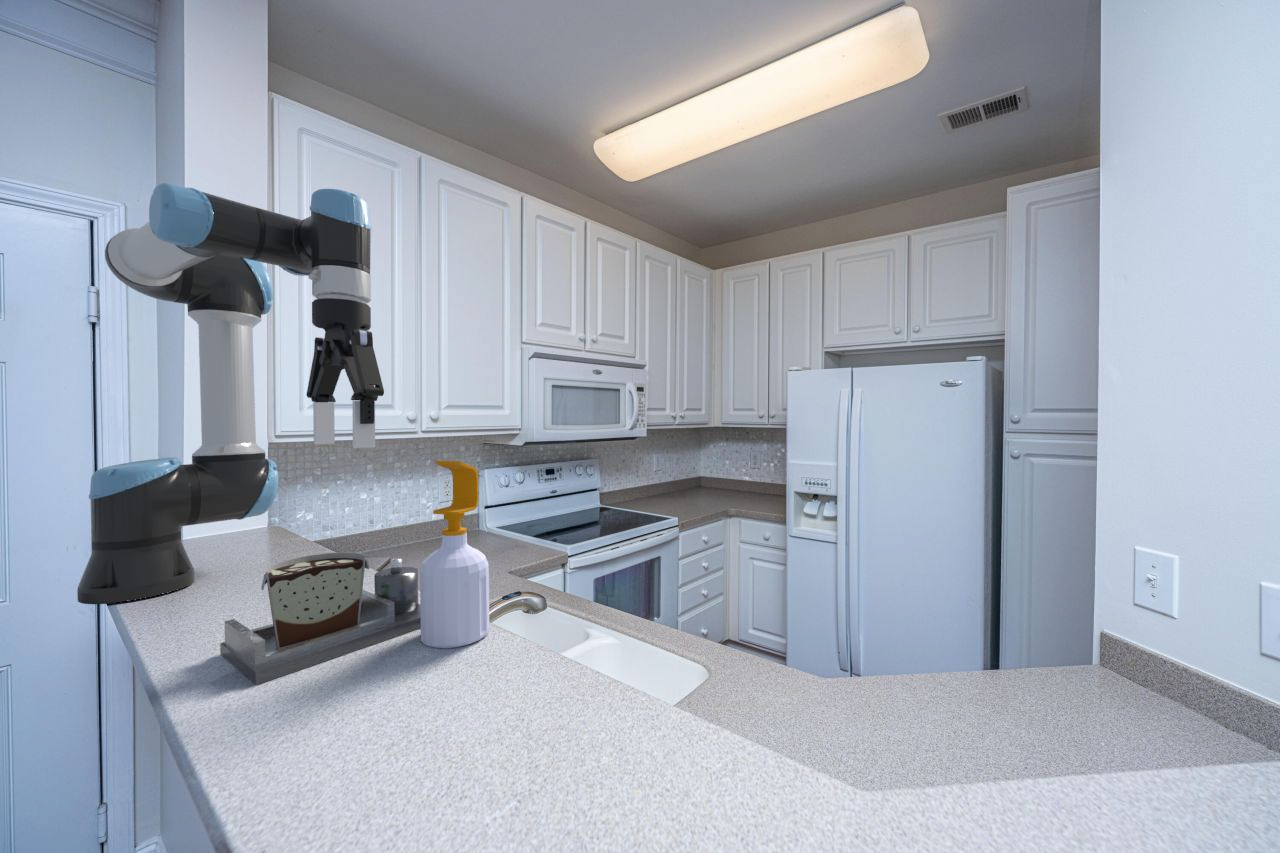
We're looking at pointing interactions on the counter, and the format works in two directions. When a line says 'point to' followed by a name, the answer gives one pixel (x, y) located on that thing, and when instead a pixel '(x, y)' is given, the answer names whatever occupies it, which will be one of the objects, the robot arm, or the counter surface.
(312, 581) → the food container
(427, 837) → the counter surface
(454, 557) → the soap bottle
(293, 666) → the tray
